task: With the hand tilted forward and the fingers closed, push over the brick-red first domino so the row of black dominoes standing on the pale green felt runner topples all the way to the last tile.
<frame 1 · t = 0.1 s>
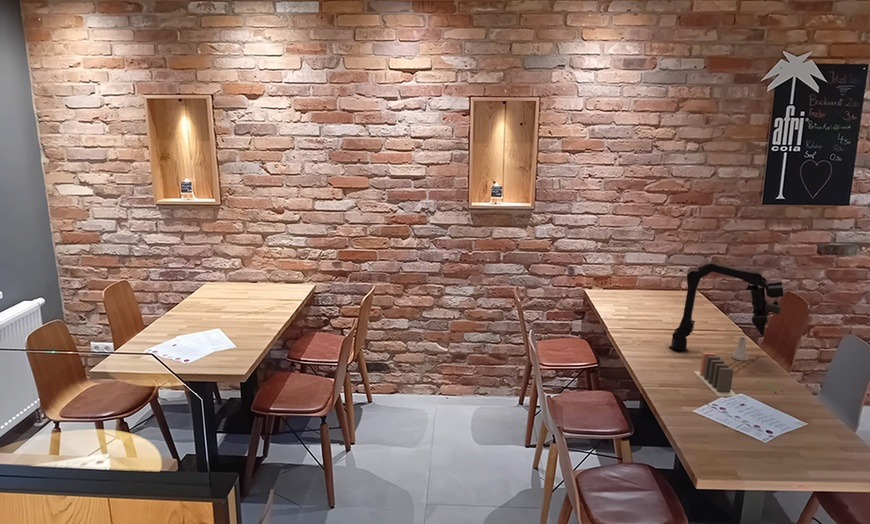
hand: (763, 332, 292), 15 cm above the table, tool pointing down, fingers open, 9 cm apart
domino 2: (710, 379, 278), point 1 cm above the table, touching felt runner
domino 4: (718, 387, 270), point 1 cm above the table, touching felt runner
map: (771, 393, 268), on the table
flask: (739, 358, 303), on the table
domino 3: (714, 383, 274), point 1 cm above the table, touching felt runner
domino 1: (706, 375, 282), point 1 cm above the table, touching felt runner
felt runner: (714, 384, 274), on the table
domino 5: (723, 391, 266), point 1 cm above the table, touching felt runner
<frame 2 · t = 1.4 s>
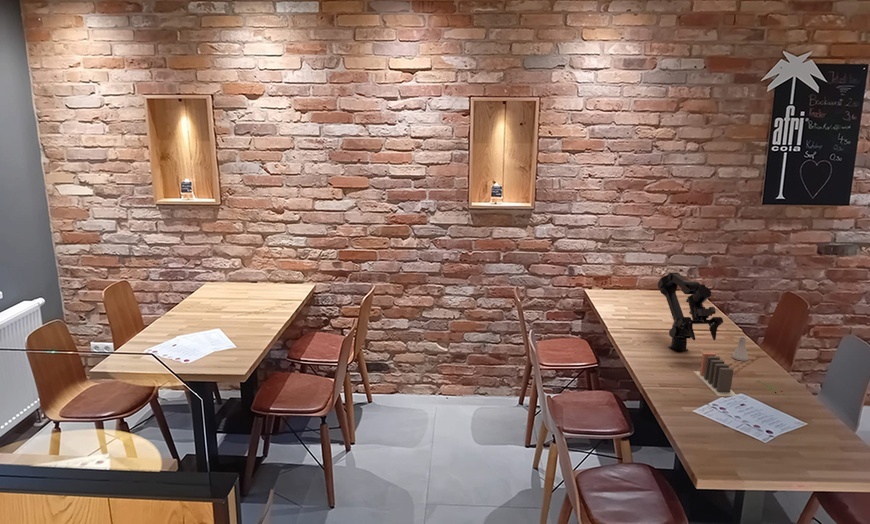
hand: (704, 340, 287), 13 cm above the table, tool tilted 45°, fingers open, 9 cm apart
nothing on the table moved.
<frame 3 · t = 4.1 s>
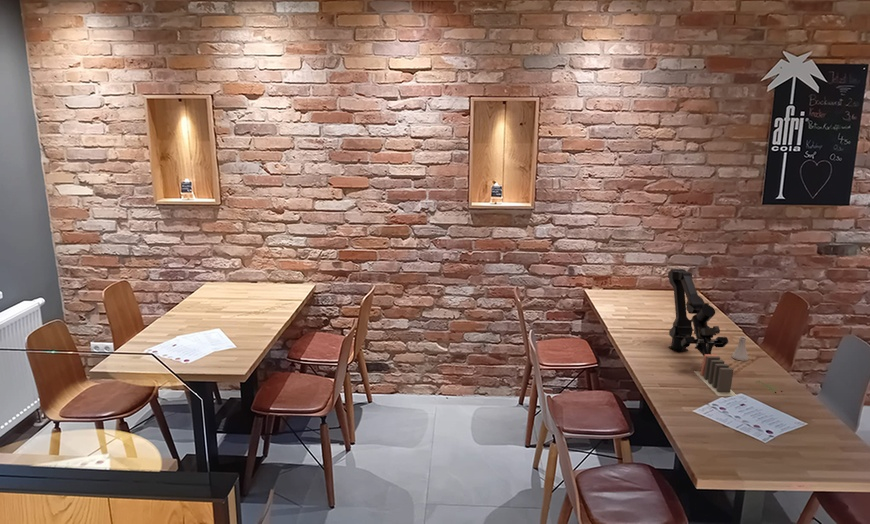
hand: (708, 360, 280), 8 cm above the table, tool tilted 45°, fingers closed
domino 1: (706, 374, 282), point 1 cm above the table, tilted 11°, touching felt runner
everything else where it was.
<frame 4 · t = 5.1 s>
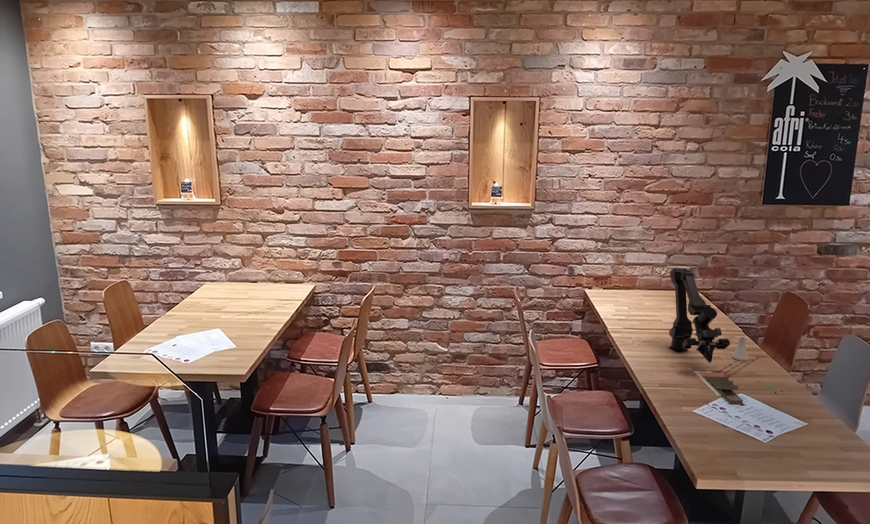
hand: (710, 362, 278), 7 cm above the table, tool tilted 45°, fingers closed
domino 2: (711, 378, 277), point 1 cm above the table, tilted 67°, touching domino 1, domino 3, felt runner
domino 4: (720, 386, 269), point 1 cm above the table, tilted 67°, touching domino 3, domino 5, felt runner
domino 3: (715, 382, 273), point 1 cm above the table, tilted 67°, touching domino 2, domino 4
domino 1: (707, 374, 280), point 1 cm above the table, tilted 66°, touching domino 2
domino 5: (724, 390, 265), point 1 cm above the table, tilted 90°, touching domino 4, felt runner
everything else where it was.
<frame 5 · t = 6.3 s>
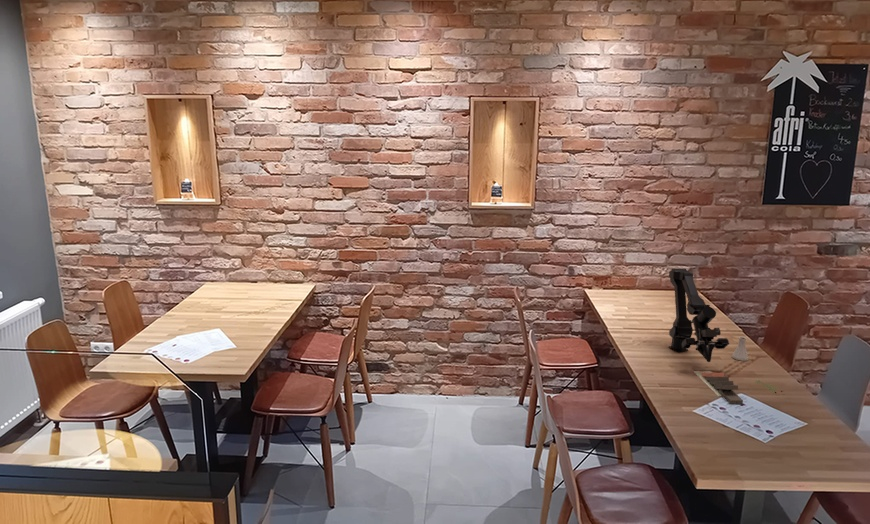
hand: (709, 361, 279), 7 cm above the table, tool tilted 45°, fingers closed
nothing on the table moved.
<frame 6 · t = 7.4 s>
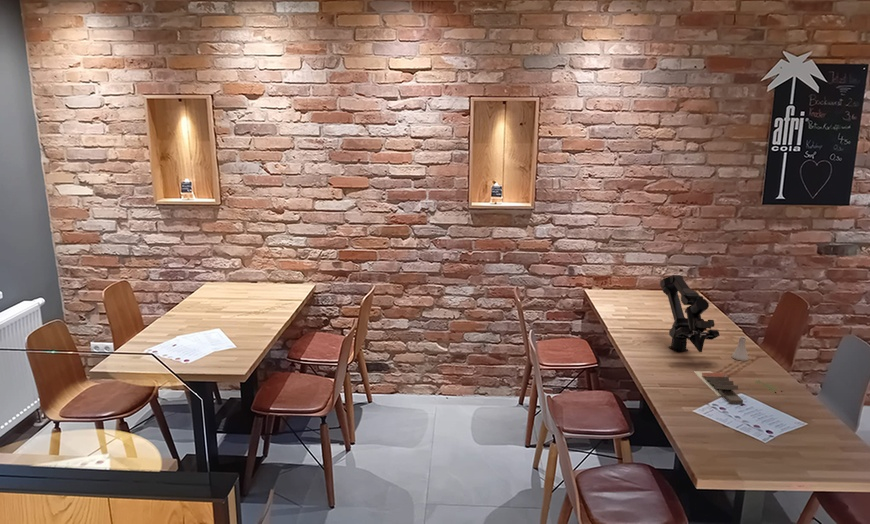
hand: (700, 351, 288), 8 cm above the table, tool tilted 40°, fingers closed
nothing on the table moved.
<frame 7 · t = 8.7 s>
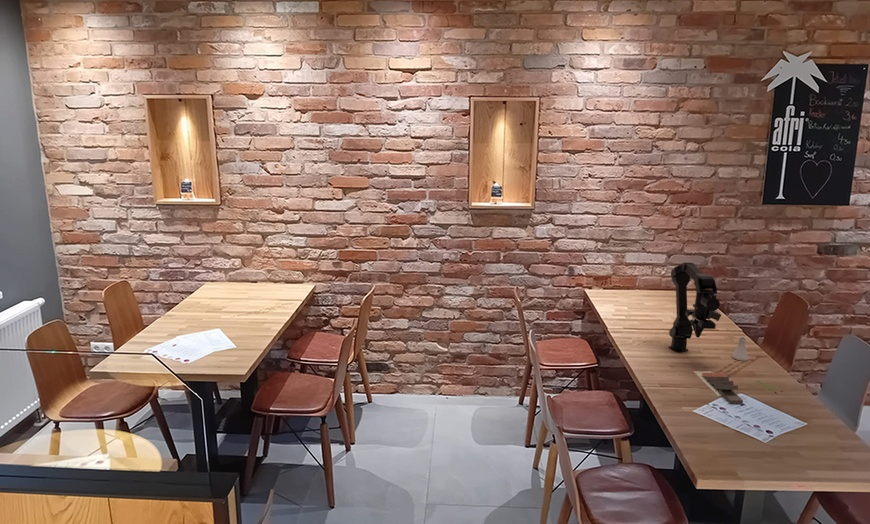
hand: (697, 337, 291), 13 cm above the table, tool pointing down, fingers closed
nothing on the table moved.
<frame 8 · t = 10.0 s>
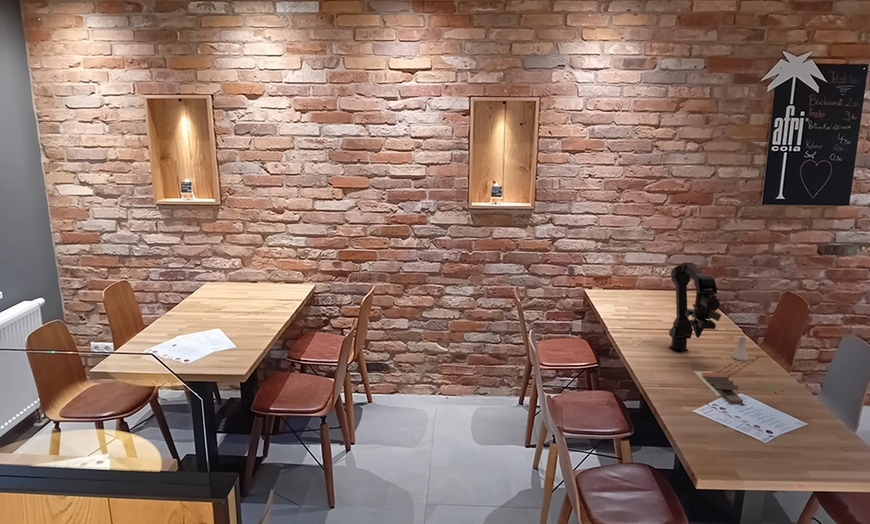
hand: (697, 337, 291), 13 cm above the table, tool pointing down, fingers closed
nothing on the table moved.
at the end: domino 5 tilted 90°; domino 1 tilted 66° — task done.
